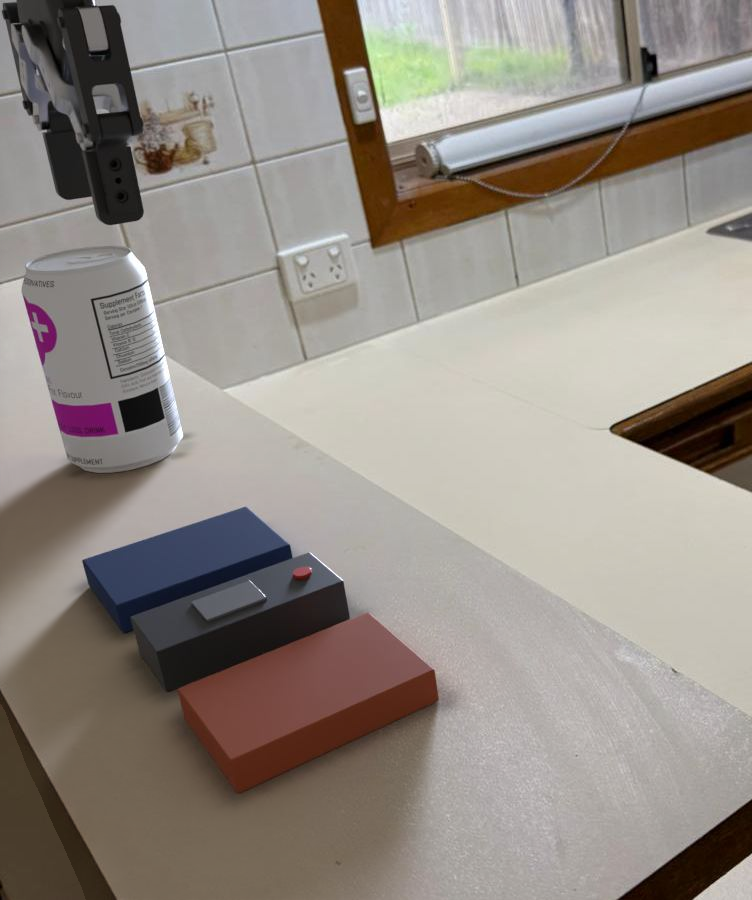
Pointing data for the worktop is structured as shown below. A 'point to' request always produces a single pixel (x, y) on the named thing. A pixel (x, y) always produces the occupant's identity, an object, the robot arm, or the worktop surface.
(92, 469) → the supplement can
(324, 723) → the red rectangular block
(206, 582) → the blue flat block
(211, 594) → the remote
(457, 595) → the worktop surface
